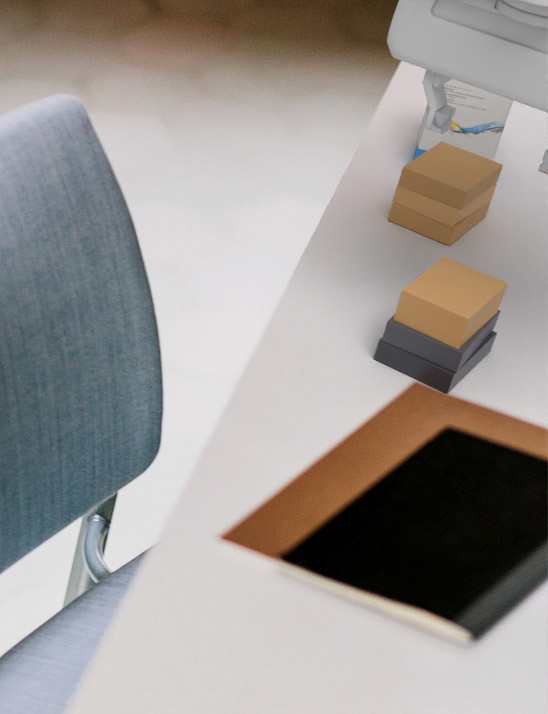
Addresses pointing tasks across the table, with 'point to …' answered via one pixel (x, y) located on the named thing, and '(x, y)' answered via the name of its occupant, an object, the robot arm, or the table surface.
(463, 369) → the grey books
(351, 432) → the table surface
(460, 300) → the tan rectangular block
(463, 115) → the ink box
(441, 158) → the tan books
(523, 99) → the robot arm
